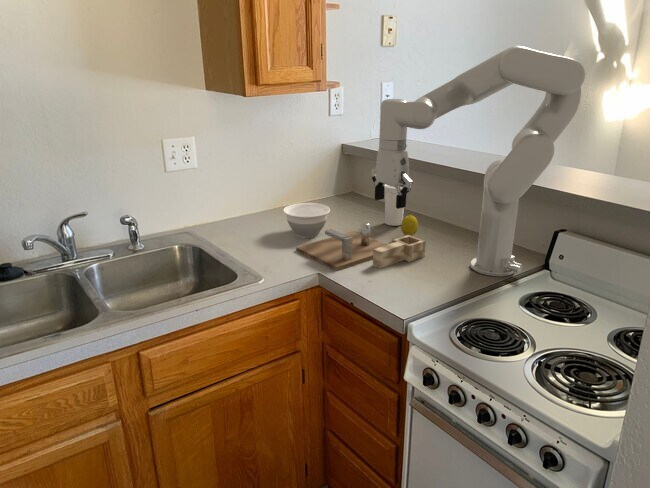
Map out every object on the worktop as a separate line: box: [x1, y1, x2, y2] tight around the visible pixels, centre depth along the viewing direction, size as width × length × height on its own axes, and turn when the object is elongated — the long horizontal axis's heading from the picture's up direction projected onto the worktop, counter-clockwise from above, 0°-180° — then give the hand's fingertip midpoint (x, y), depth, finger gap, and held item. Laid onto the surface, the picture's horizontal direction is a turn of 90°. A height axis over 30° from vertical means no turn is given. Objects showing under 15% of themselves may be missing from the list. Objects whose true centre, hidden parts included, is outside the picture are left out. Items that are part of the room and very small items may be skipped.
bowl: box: [282, 202, 331, 239], centre depth 183 cm, size 16×16×8 cm
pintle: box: [360, 221, 371, 246], centre depth 169 cm, size 3×3×7 cm
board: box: [295, 230, 388, 272], centre depth 168 cm, size 20×24×1 cm
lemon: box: [400, 214, 419, 237], centre depth 178 cm, size 6×6×8 cm
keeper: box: [324, 228, 353, 260], centre depth 161 cm, size 10×2×7 cm, turn 38°
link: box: [372, 235, 426, 269], centre depth 161 cm, size 17×7×5 cm, turn 128°
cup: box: [383, 184, 405, 227], centre depth 190 cm, size 8×8×14 cm
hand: (389, 203), depth 156 cm, fingers open, 9 cm apart
